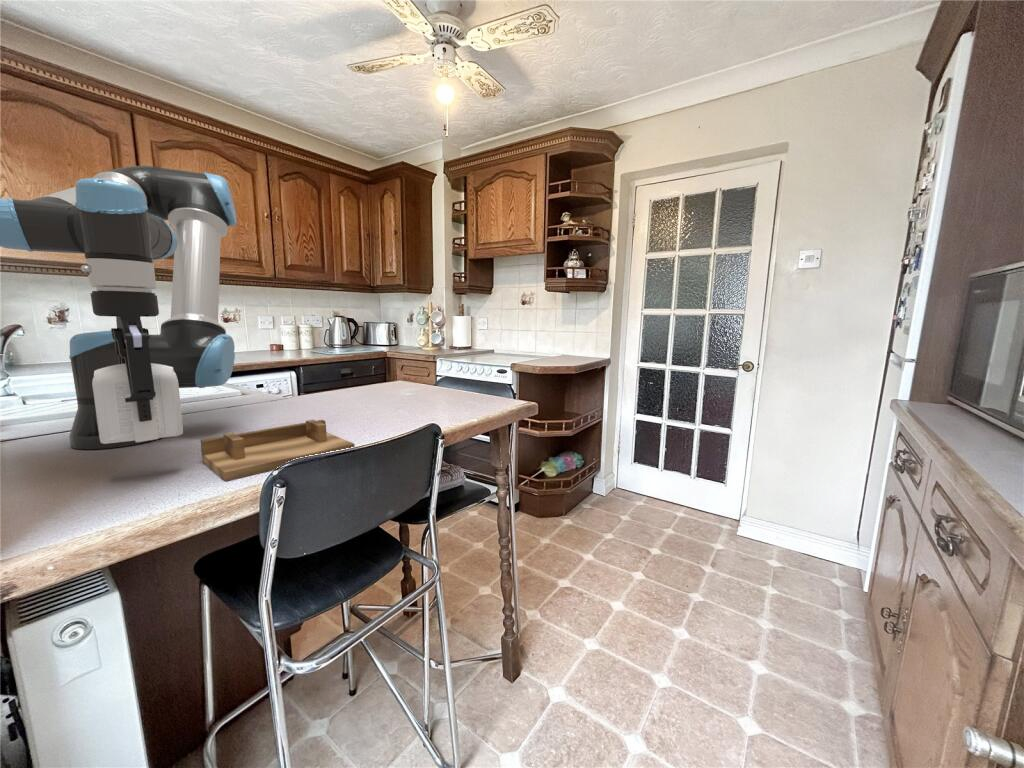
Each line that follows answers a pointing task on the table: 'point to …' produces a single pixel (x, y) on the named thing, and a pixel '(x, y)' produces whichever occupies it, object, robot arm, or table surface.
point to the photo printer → (117, 412)
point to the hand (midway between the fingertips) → (144, 435)
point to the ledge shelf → (267, 448)
